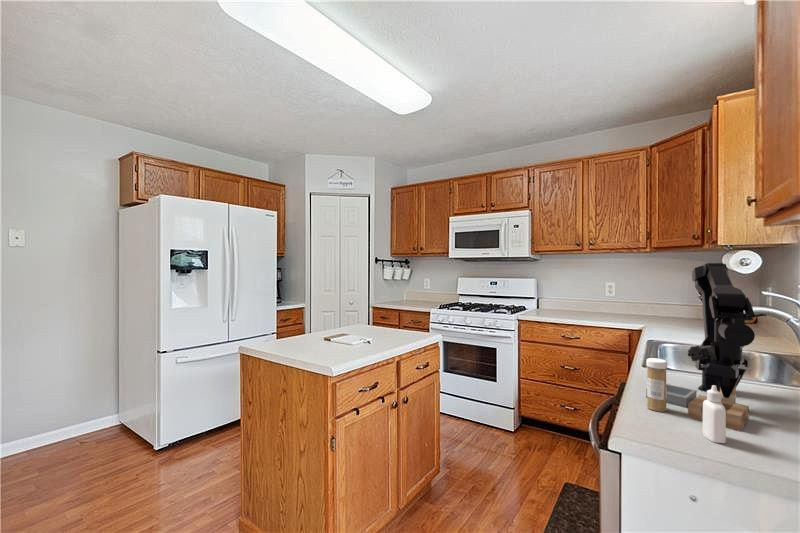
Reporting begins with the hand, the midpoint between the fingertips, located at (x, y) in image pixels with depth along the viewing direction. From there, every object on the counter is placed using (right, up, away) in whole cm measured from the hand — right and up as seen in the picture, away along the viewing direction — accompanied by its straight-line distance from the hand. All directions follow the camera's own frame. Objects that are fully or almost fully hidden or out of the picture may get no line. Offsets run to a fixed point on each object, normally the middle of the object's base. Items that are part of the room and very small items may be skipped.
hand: (727, 396), depth 101 cm
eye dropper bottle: (-18, -4, -16) cm, 24 cm away
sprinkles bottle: (-19, -4, 0) cm, 19 cm away
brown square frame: (-8, -4, -6) cm, 10 cm away
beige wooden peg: (0, -2, 0) cm, 2 cm away
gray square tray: (-10, -3, +8) cm, 13 cm away
